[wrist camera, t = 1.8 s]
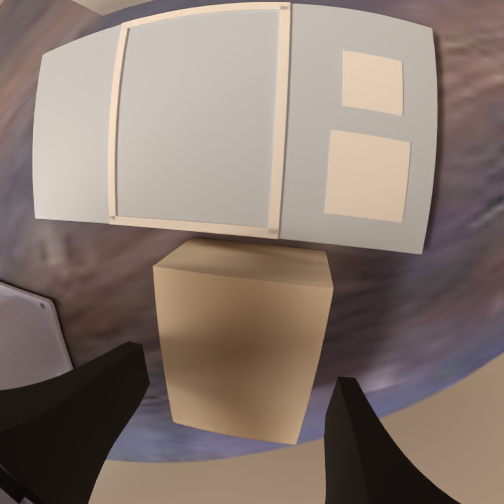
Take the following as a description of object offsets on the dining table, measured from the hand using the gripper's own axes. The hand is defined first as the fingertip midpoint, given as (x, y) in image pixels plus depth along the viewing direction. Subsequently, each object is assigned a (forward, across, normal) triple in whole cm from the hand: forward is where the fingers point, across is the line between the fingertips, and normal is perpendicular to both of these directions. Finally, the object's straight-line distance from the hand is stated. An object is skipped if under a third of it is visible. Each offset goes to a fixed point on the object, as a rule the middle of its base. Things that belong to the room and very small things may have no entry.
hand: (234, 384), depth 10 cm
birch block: (+4, 0, 0) cm, 5 cm away
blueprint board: (+4, +3, -10) cm, 11 cm away
